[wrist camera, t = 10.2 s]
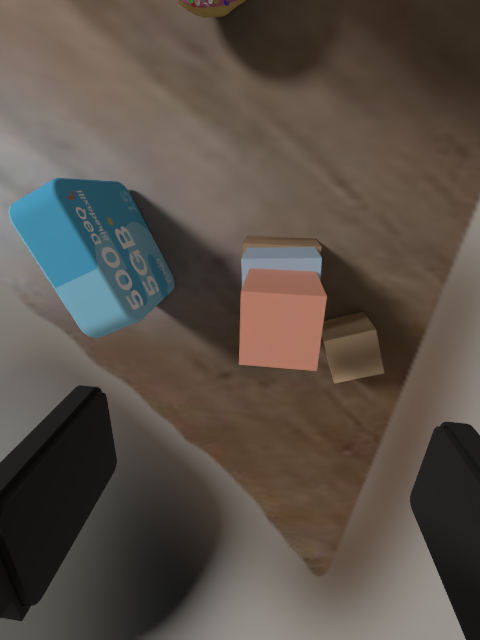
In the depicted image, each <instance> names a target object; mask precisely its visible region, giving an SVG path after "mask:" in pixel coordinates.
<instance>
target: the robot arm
mask: <svg viewBox="0 0 480 640" xmlns="http://www.w3.org/2000/svg"><path fill="white" fill-rule="evenodd" d="M116 463H117V458H116V453H115V447H114V440H113V434H112V427H111V421H110V415H109V409H108V403H107V397H106V394H105V393H102V391H101V389H100V388H98V387H89V386H77V387H76V388H75V389H74V390H73V391H72V392H71V393H70V394H69V395H68V396H67V397H66V398H65V399H64V400H63V401H62V402H61V403H60V404H59V405H58V406H57V407H56V408H55V409H54V410H53V411H52V412H51V413H50V414H49V415H48V416H47V417H46V418H45V419H44V420H43V421H42V422H41V423H40V424H39V425H38V426H37V427H36V428H35V429H34V430H33V431H32V432H31V433H30V434H29V435H28V436H27V437H26V438H25V439H24V440H23V441H22V442H21V443H20V444H19V445H18V446H17V447H16V448H15V449H14V450H13V451H12V452H11V453H10V454H8V455H7V456H6V457H5V459H3V461H1V462H0V618H7V619H13V620H18V621H22V620H23V619H24V617H25V615H26V613H27V612H28V610H29V608H30V607H31V605H36V604H37V603H38V602H39V601H40V600H41V598H42V596H43V595H44V593H45V592H46V590H47V588H48V586H49V584H50V583H51V581H52V579H53V578H54V576H55V574H56V572H57V571H58V569H59V567H60V565H61V564H62V562H63V560H64V558H65V557H66V555H67V553H68V551H69V550H70V548H71V546H72V544H73V543H74V541H75V539H76V537H77V536H78V534H79V532H80V530H81V529H82V527H83V525H84V523H85V522H86V520H87V518H88V517H89V515H90V513H91V511H92V510H93V508H94V506H95V504H96V503H97V501H98V499H99V497H100V496H101V494H102V492H103V490H104V489H105V487H106V485H107V483H108V481H109V480H110V478H111V476H112V474H113V473H114V471H115V467H116ZM410 503H411V508H412V511H413V513H414V515H415V518H416V520H417V523H418V525H419V527H420V530H421V532H422V535H423V537H424V539H425V542H426V544H427V547H428V549H429V551H430V554H431V556H432V559H433V561H434V563H435V566H436V568H437V571H438V573H439V576H440V578H441V580H442V583H443V585H444V588H445V590H446V592H447V595H448V597H449V599H450V602H451V604H452V607H453V609H454V612H455V614H456V616H457V619H458V621H459V624H460V626H461V628H462V631H463V633H464V636H465V638H466V640H480V435H479V434H478V433H477V432H476V430H475V429H474V428H473V427H472V426H471V425H469V424H463V423H454V422H443V423H442V424H441V426H440V427H436V428H435V429H434V431H433V434H432V437H431V439H430V442H429V445H428V448H427V451H426V453H425V456H424V459H423V462H422V464H421V467H420V470H419V473H418V475H417V479H416V481H415V484H414V487H413V490H412V492H411V496H410Z"/></svg>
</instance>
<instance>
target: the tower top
mask: <svg viewBox="0 0 480 640" xmlns="http://www.w3.org/2000/svg"><path fill="white" fill-rule="evenodd" d="M321 264H322V257H321V256H320V254H319V253H318V251H317V249H316V248H315V247H268V248H247V250H246V251H245V253H244V255H243V257H242V258H241V265H242V287H243V285H244V282H245V279H246V277H247V274H248V272H249V269H250V268H256V269H275V270H295V271H315V272H316V273H317V275H318V277H319V280H320V279H321Z"/></svg>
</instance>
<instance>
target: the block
mask: <svg viewBox="0 0 480 640" xmlns="http://www.w3.org/2000/svg"><path fill="white" fill-rule="evenodd" d="M322 340H323V344H324V348H325V352H326V355H327V359H328V363H329V367H330V370H331V374H332V377H333V381H334V383H338V382H343V381H348V380H353V379H358V378H363V377H368V376H373V375H378V374H383V373H384V369H383V364H382V358H381V353H380V348H379V342H378V337H377V332H376V329H375V327H374V326H373V324H372V323H371V321H370V320H369V319H368V317H367V316H366V314H365V313H364V311H363V312H359V313H355V314H351V315H347V316H342V317H338V318H334V319H330V320H326V321H323V329H322Z"/></svg>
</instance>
